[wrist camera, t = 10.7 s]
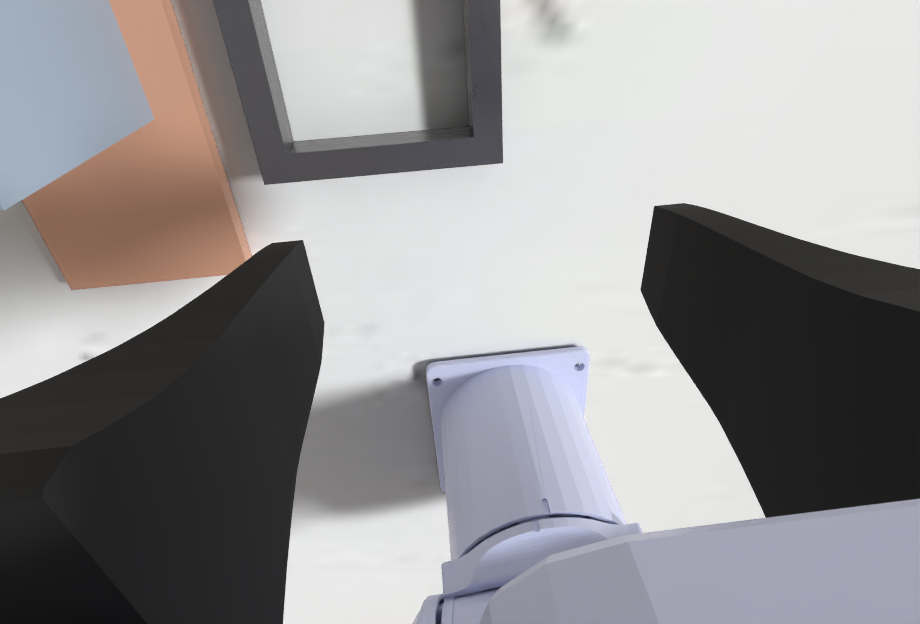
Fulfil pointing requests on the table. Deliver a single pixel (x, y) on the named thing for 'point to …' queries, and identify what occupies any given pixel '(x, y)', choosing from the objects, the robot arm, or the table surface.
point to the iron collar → (369, 152)
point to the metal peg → (61, 90)
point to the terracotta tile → (147, 179)
